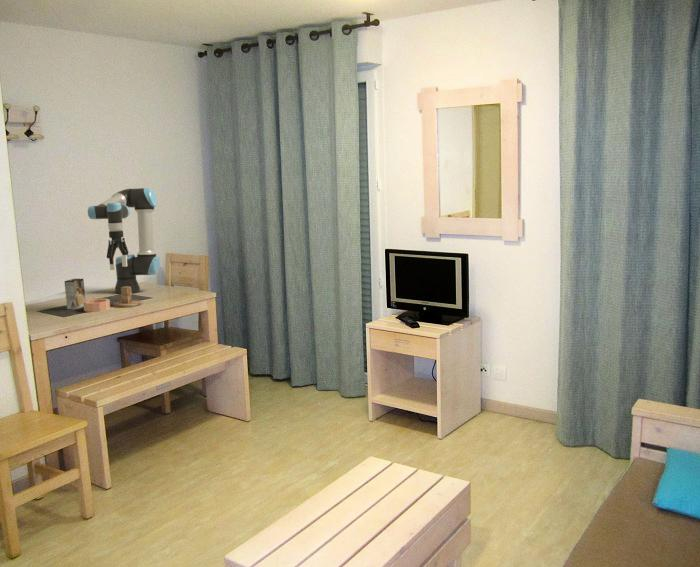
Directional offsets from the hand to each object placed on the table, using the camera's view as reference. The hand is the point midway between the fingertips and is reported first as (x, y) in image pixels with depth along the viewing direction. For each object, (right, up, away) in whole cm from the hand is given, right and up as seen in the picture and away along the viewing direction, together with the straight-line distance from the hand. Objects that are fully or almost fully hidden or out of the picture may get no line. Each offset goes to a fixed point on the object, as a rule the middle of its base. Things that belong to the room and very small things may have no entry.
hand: (118, 268), depth 386 cm
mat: (+3, -21, +5) cm, 22 cm away
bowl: (-10, -23, -6) cm, 26 cm away
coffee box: (-24, -22, +2) cm, 33 cm away
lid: (+3, -21, +5) cm, 21 cm away
